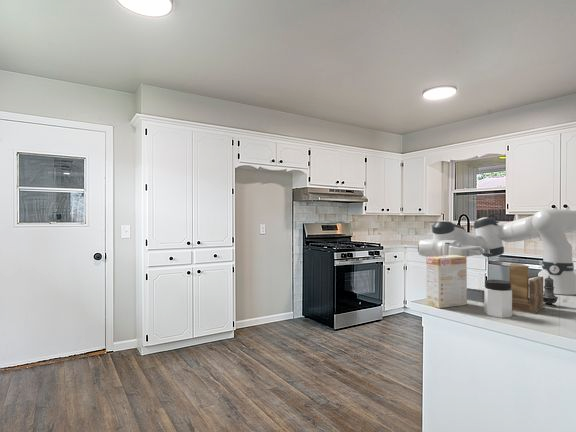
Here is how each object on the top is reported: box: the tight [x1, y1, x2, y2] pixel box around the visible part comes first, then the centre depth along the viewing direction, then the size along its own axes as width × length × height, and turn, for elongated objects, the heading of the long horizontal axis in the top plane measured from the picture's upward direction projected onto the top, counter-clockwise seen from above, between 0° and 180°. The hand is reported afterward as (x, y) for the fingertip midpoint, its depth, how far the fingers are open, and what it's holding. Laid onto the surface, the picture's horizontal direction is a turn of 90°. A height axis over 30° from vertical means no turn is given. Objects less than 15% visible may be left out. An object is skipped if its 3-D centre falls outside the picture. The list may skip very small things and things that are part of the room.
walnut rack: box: [512, 276, 544, 314], centre depth 142 cm, size 13×13×12 cm
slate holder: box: [467, 287, 484, 303], centre depth 157 cm, size 8×10×4 cm
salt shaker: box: [543, 276, 559, 308], centre depth 145 cm, size 6×6×12 cm
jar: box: [483, 279, 513, 319], centre depth 131 cm, size 9×8×12 cm
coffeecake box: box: [425, 255, 468, 309], centre depth 146 cm, size 15×7×20 cm, turn 113°
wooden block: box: [508, 264, 530, 300], centre depth 144 cm, size 2×6×16 cm, turn 42°
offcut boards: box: [512, 298, 529, 304], centre depth 141 cm, size 3×10×4 cm, turn 42°
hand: (485, 252), depth 154 cm, fingers open, 8 cm apart
